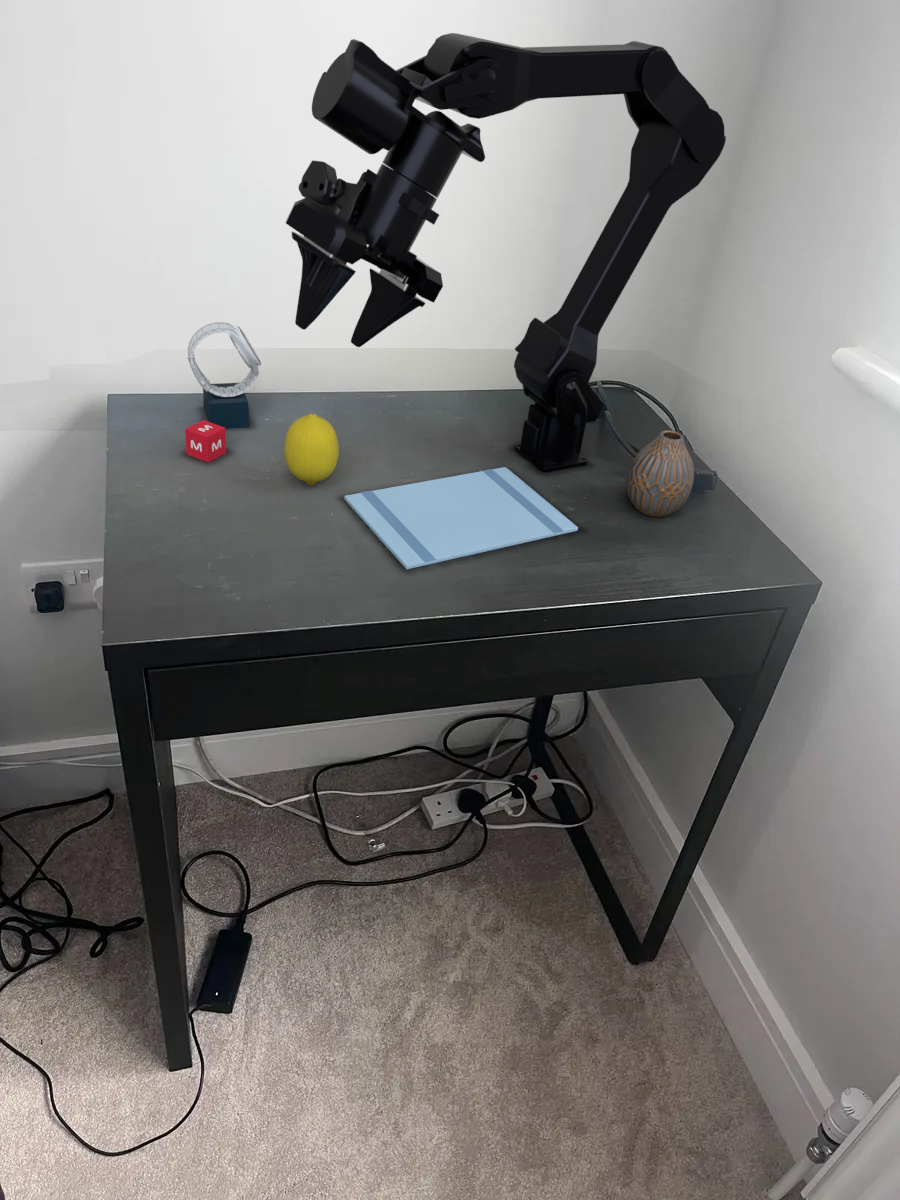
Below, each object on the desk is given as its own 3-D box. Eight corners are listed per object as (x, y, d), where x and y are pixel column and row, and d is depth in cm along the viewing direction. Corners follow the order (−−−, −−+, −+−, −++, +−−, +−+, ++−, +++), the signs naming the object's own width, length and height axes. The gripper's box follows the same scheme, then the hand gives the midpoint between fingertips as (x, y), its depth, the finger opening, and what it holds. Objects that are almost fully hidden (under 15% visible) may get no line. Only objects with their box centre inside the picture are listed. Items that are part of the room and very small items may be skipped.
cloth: (505, 469, 104) (505, 466, 104) (577, 530, 95) (578, 527, 94) (344, 499, 95) (344, 495, 95) (406, 569, 85) (407, 565, 85)
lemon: (327, 501, 94) (330, 430, 90) (276, 491, 95) (276, 419, 90) (343, 477, 99) (346, 408, 94) (294, 468, 99) (295, 398, 95)
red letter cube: (204, 444, 101) (203, 419, 100) (226, 452, 100) (225, 427, 99) (186, 454, 99) (184, 428, 97) (208, 462, 98) (206, 437, 96)
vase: (615, 513, 98) (633, 439, 93) (627, 486, 104) (645, 415, 99) (678, 530, 97) (700, 456, 92) (688, 502, 102) (709, 430, 97)
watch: (265, 426, 107) (264, 334, 100) (195, 430, 104) (189, 335, 98) (256, 406, 111) (255, 316, 105) (188, 409, 108) (182, 317, 102)
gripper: (397, 176, 93) (325, 314, 98) (285, 100, 76) (206, 271, 81) (479, 227, 89) (400, 368, 94) (380, 159, 73) (291, 334, 78)
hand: (328, 336), depth 87 cm, fingers open, 9 cm apart
